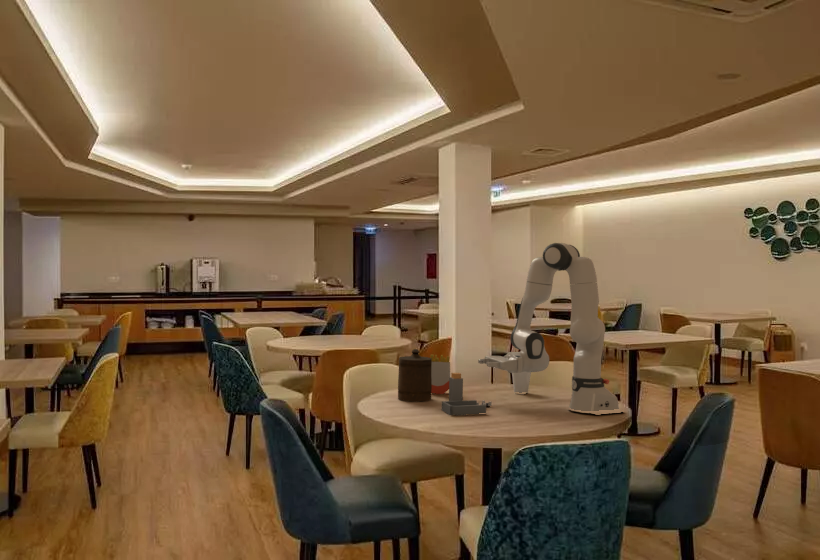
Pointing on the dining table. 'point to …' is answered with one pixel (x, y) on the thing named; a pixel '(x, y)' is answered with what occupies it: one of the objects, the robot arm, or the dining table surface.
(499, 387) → the dining table surface
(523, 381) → the foam cup
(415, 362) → the wooden container
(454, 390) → the grey corked bottle
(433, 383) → the french fries container
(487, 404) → the clip
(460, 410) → the tray
